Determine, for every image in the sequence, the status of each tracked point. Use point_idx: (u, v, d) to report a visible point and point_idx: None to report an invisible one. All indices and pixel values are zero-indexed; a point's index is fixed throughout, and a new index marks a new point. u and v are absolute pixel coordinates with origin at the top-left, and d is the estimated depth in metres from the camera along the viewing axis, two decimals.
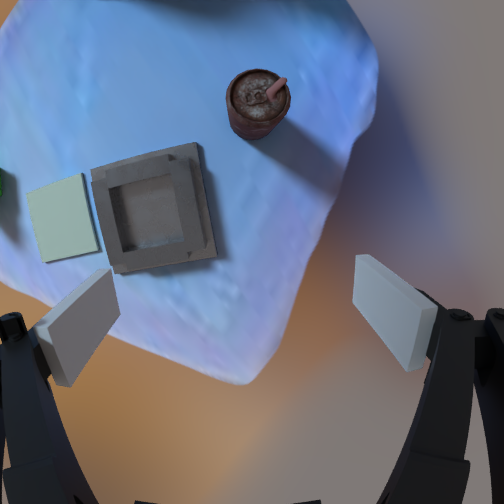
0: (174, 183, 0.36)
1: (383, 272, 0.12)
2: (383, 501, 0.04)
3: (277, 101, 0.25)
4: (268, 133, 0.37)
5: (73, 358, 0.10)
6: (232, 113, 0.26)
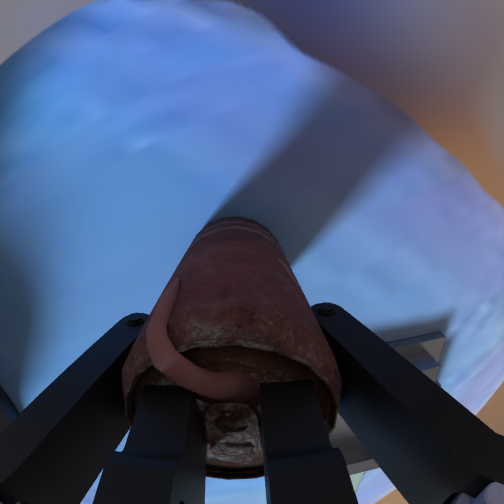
0: None
1: None
2: None
3: (258, 373, 0.06)
4: (276, 241, 0.18)
5: None
6: None
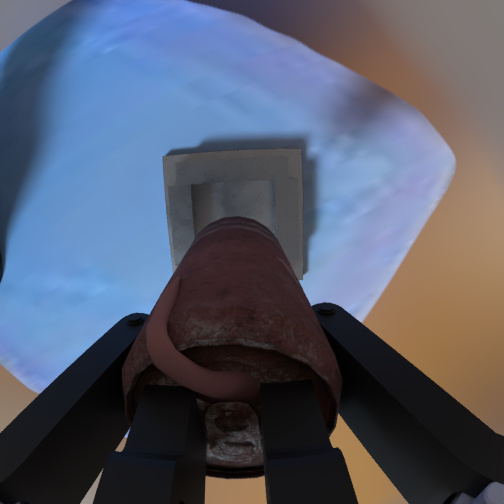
0: (203, 181, 0.31)
1: None
2: None
3: (258, 372, 0.06)
4: (277, 240, 0.18)
5: None
6: None
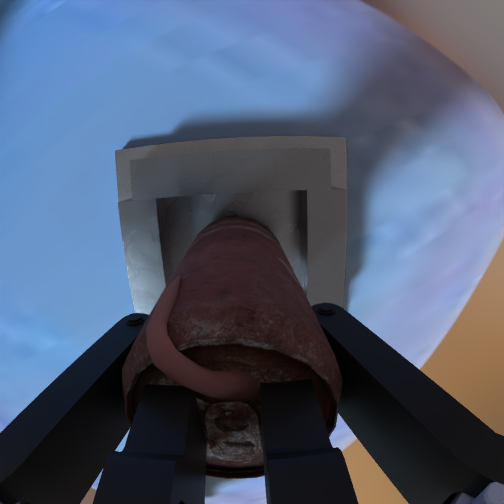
0: (178, 192, 0.17)
1: None
2: None
3: (258, 372, 0.06)
4: (277, 241, 0.18)
5: None
6: None
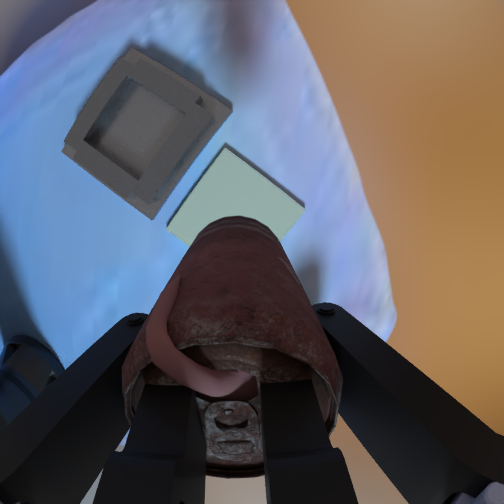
0: (88, 128, 0.29)
1: None
2: None
3: (258, 371, 0.06)
4: (278, 240, 0.18)
5: None
6: None
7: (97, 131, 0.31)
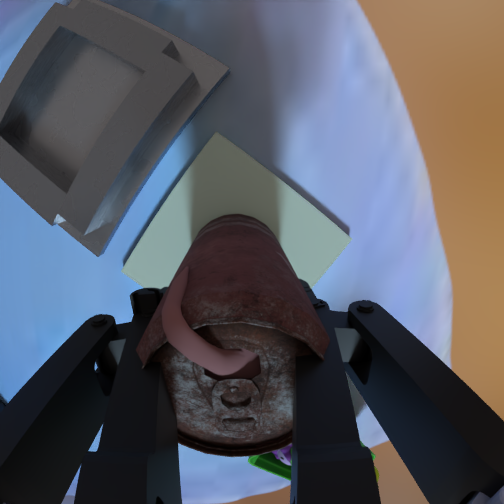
0: (2, 113, 0.14)
1: None
2: None
3: (261, 350, 0.07)
4: (275, 237, 0.19)
5: None
6: None
7: (21, 117, 0.16)
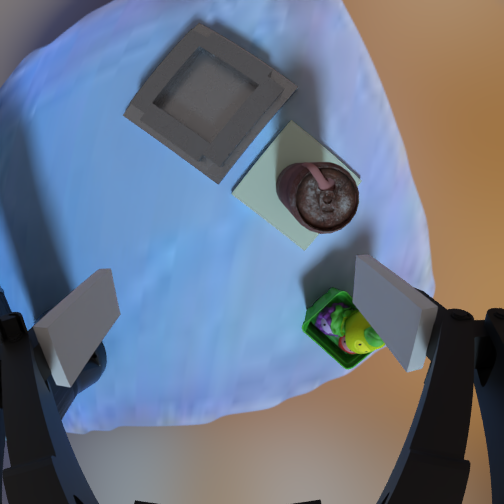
0: (157, 92, 0.30)
1: (383, 272, 0.12)
2: (383, 501, 0.04)
3: (335, 179, 0.23)
4: None
5: (73, 358, 0.10)
6: (339, 229, 0.25)
7: (164, 97, 0.33)
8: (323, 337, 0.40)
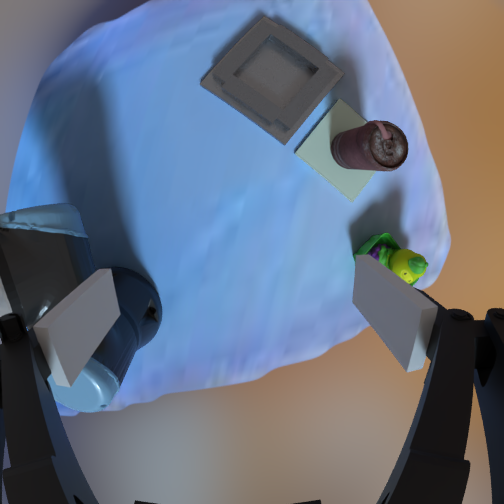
0: (237, 66, 0.37)
1: (383, 272, 0.12)
2: (383, 501, 0.04)
3: (393, 132, 0.30)
4: None
5: (73, 358, 0.10)
6: (396, 168, 0.31)
7: (238, 72, 0.39)
8: None
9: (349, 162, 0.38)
